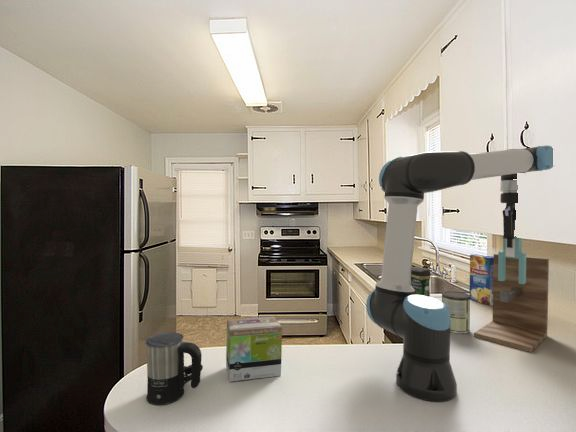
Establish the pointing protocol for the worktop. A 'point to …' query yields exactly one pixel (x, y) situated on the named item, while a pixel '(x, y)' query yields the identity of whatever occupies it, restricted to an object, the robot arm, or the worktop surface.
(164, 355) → the milk frother
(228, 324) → the tea box
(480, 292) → the juice carton
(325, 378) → the worktop surface
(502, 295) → the hook arm
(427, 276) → the coffee jar
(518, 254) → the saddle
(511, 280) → the hook stand
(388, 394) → the worktop surface
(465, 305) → the coffee can
